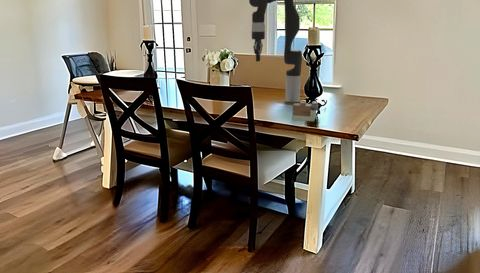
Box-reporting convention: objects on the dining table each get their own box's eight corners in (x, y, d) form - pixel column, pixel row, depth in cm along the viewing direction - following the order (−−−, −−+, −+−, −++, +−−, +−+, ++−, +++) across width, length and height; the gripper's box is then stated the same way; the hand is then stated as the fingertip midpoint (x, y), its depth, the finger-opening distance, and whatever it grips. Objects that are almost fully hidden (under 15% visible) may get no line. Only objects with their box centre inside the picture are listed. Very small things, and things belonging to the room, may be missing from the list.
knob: (311, 108, 226) (311, 101, 225) (318, 109, 225) (318, 101, 224) (310, 110, 223) (311, 102, 222) (317, 110, 222) (317, 102, 221)
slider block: (293, 117, 234) (294, 101, 231) (311, 118, 231) (312, 102, 228) (292, 119, 229) (292, 102, 226) (310, 120, 226) (311, 104, 224)
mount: (295, 115, 236) (295, 105, 234) (315, 117, 232) (316, 106, 231) (292, 120, 227) (293, 109, 225) (313, 121, 224) (314, 110, 222)
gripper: (261, 31, 230) (261, 62, 235) (267, 30, 242) (266, 60, 247) (248, 31, 232) (248, 62, 237) (254, 30, 244) (254, 59, 250)
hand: (258, 61), depth 242 cm, fingers closed
